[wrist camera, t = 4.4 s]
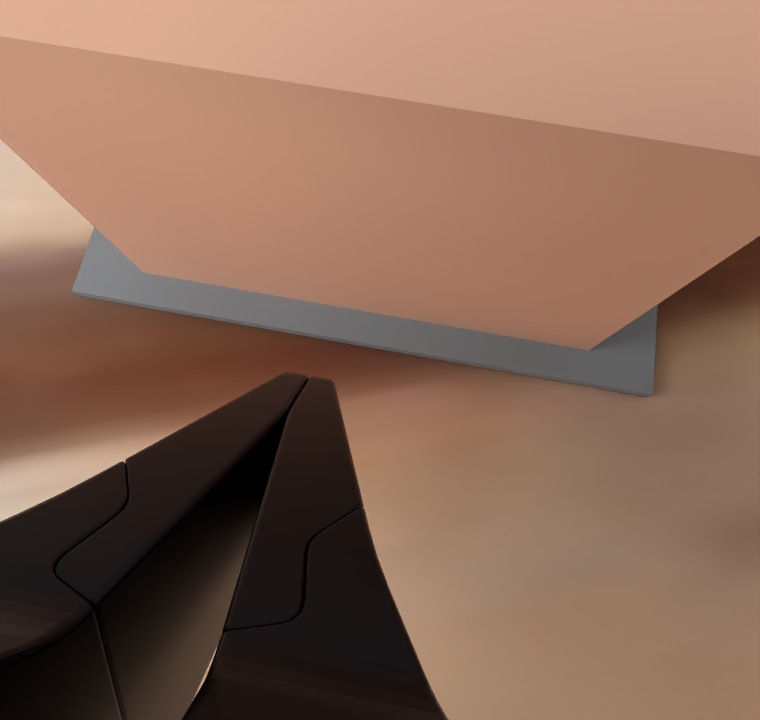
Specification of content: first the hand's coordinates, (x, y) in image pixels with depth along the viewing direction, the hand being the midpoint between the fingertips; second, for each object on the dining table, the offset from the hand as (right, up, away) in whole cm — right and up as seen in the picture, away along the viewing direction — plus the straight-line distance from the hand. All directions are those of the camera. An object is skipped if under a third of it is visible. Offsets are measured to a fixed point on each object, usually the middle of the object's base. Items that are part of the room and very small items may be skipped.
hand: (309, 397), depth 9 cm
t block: (+2, +8, +9) cm, 12 cm away
